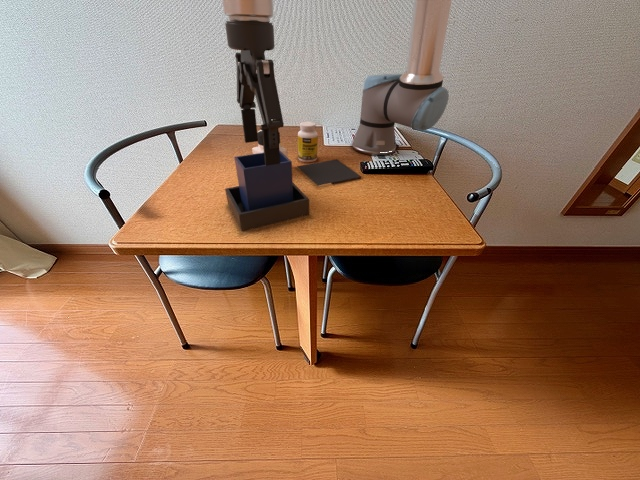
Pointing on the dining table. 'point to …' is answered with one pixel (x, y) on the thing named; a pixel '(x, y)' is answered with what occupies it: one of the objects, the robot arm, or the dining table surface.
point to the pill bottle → (307, 142)
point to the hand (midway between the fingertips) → (261, 152)
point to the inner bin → (263, 181)
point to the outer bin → (267, 210)
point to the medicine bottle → (261, 149)
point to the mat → (328, 172)
